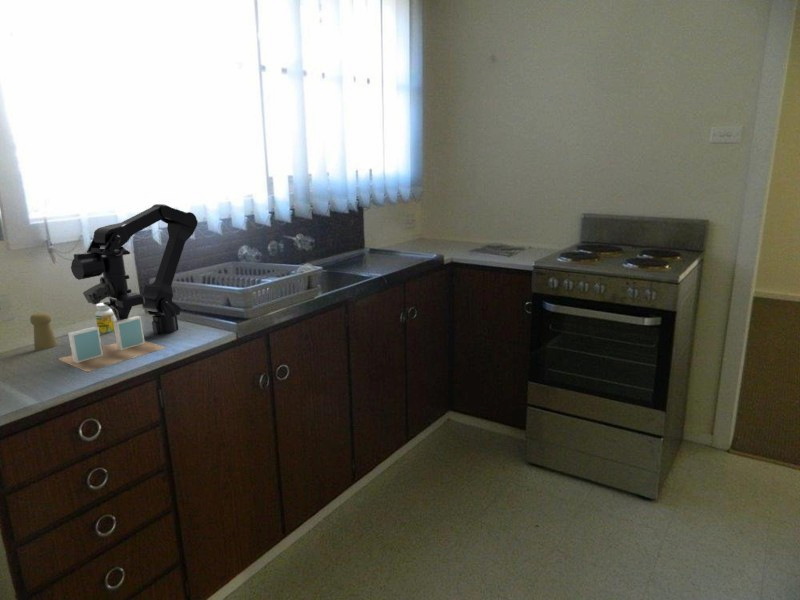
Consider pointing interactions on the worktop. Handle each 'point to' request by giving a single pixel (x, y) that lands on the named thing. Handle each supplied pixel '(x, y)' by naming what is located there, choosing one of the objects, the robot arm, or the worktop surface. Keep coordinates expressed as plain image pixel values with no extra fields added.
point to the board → (113, 356)
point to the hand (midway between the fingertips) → (122, 325)
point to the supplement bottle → (105, 318)
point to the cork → (43, 331)
